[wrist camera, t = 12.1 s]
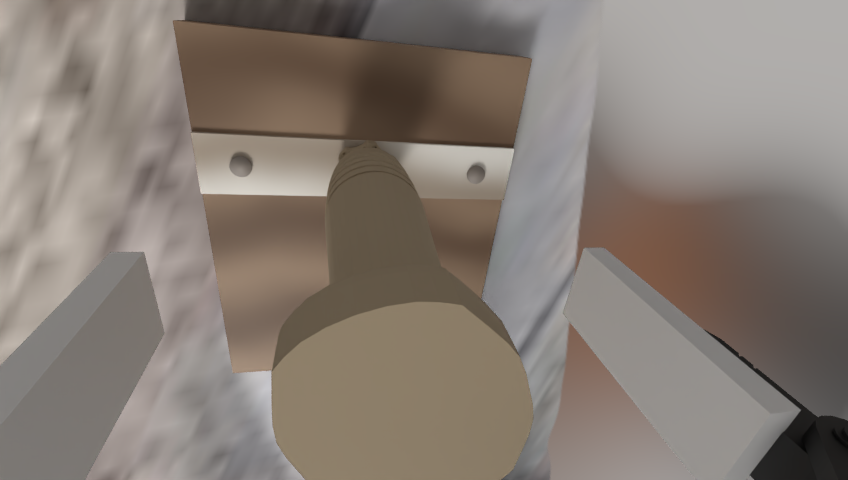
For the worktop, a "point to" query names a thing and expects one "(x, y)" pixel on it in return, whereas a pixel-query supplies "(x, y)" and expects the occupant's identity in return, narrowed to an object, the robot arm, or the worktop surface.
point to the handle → (394, 349)
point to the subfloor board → (335, 155)
